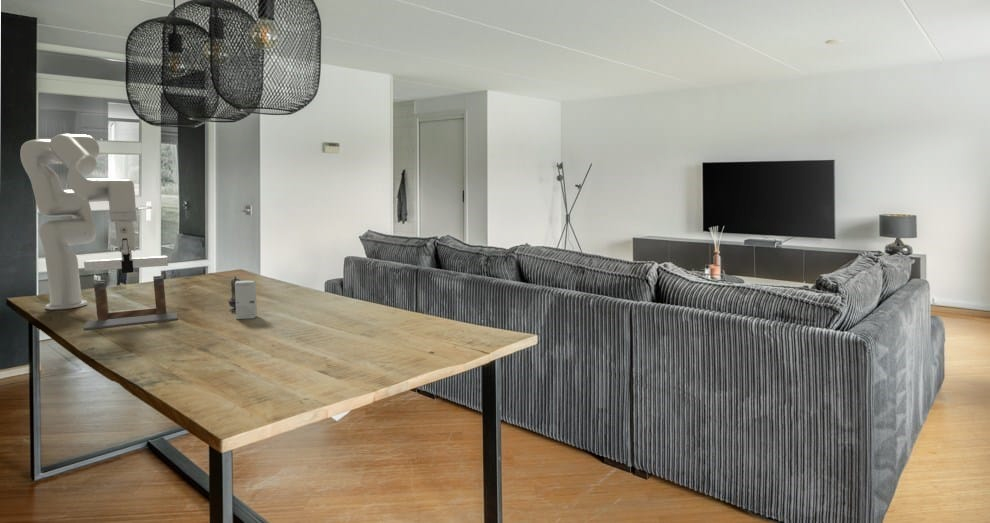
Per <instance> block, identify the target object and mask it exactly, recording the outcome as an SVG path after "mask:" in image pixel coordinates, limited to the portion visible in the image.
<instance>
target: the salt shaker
mask: <svg viewBox="0 0 990 523" xmlns="http://www.w3.org/2000/svg"><path fill="white" fill-rule="evenodd" d="M236 281H241V280H240V279H239V278H237V277H236V275H234V278H233V279H232V280H230V282H231V284H230V286H231V288H230V291H231V298H230V299H228V300H227V302H228V304H229V306H230V307H231V308H230V309H229V312H233V313H236V302H235V282H236Z"/></svg>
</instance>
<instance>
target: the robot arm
mask: <svg viewBox="0 0 990 523" xmlns="http://www.w3.org/2000/svg"><path fill="white" fill-rule="evenodd" d="M99 155H100V146H99V143H98V142H97V140H96V139H95V138H94V137H92V136H91V135H89V134H88V135H87V134H75V133H74V134H73V133H72V134H71V133H60V134H56V135H55V136H53V137H52V138H50V139H42V138H41V139H31V140H27V141H25V142H24V143H22V145H21V147H20V162H21V164H22V167H23V168H24V171H25V173H26V174H27V176H28V177H29V181H30V183H31V187H32V191H33V194H34V198H35V202H36V206H37V209H38V212H39V213H40V214H41V215H42V216H43V217H49V218H55V217H56V218H57V217H72V218H71V219H70V218H65V219H54V220H53V219H51V220H48V221H45V222H43V223H42V224H41V225H40V226H39V228H38V235H39V239H40V241H41V242H40V243H41V245H42V248H43V254H44V258H45V267H46V268H45V269H46V275H47V283H48V284H47V285H48V294H49V297H48V298H49V302H50V303H46V304H45V306H44V307H45V309H46V310H53V311H54V310H58V311H59V310H70V309H75V308H81V307H84V306H86V305H88V301H87V300H86V299H85V300H84V299H83V298H82V288H81V287H82V286H81V281H80V280H81V279H80V270H79V269H80V268H79V261H78V257H77V254H76V253H75V252H74V251H73V249H71V247H70V246H77V245H86V244H91V243H92V242H94V241H95V239H96V237H97V229H96V224H95V220H94V216H93V212H92V208H91V204H90V203H94V202H108V208H109V218H110V220H109V221H110V222H111V223H114V228H115V236H116V244H117V249H118V252H120V254H121V259H122V261H121V264H122V269H121V272H122V274H128V273H129V274H130V273H131V274H132V273H134V269H135V268H133V261H132V259H131V258H133V256H132V255H133V254H132V251H133V252H135V251H137V245H136V244H137V242H136V233H135V232H136V230H135V224H134V223H135V222H137V221H138V218H137V208H136V193H135V184H134V182H133V180H131V179H121V178H120V179H119V178H87V177H86V176H89V175H91V174H92V173H93V172H94V171H95V170H96V167H97V163H98V162H97V159H96V158H97V157H98V156H99ZM49 165H64V166H65V167H66V168H67V169H68V171H67V175H66V176H67V177H66V178H67V179H66V180H67V183H68V186H69V188H70V189H64V188H63V187H62V183H61V179H60V177H59V175H58V174H57V173H56V171H54V170H53V169H52V168H51V167H50V166H49Z"/></svg>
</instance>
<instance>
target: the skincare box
mask: <svg viewBox="0 0 990 523" xmlns="http://www.w3.org/2000/svg"><path fill="white" fill-rule="evenodd" d="M235 302H236V312H235V318H236V320H241V319H242V320H243V319H255V318H256V317H257V315H258V314H257V312H258V311H257V286H256V280H240V281H236V282H235Z"/></svg>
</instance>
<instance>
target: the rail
mask: <svg viewBox="0 0 990 523" xmlns="http://www.w3.org/2000/svg"><path fill="white" fill-rule="evenodd" d="M131 259H132V261H133V268H134V269H135V268H136V269H137V268H152V267H153V268H154V267H169V258H168V255H162V256H147V257H146V256H143V257H132V258H131ZM121 261H122V258H110V259H108V258H107V259H90V260H88V259H87V260H84V261H83V266H84V272H90V271H91V272H92V271H105V270H106V271H107V270H122V264H121Z"/></svg>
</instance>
